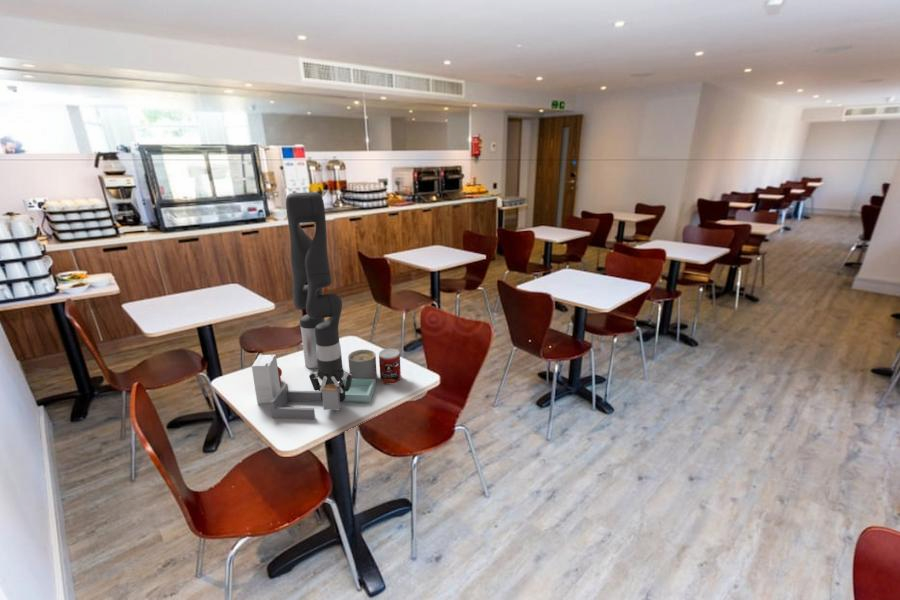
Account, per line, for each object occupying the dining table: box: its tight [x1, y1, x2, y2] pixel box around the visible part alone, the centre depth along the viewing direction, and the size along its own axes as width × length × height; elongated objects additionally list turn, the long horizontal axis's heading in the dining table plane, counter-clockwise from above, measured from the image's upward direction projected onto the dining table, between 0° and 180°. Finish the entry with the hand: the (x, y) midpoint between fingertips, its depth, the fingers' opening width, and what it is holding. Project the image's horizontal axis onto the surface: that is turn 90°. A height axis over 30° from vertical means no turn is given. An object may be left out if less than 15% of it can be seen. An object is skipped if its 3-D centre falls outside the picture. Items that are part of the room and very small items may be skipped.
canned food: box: [378, 348, 402, 385], centre depth 157 cm, size 8×8×11 cm
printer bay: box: [269, 383, 323, 420], centre depth 139 cm, size 11×14×6 cm
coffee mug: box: [347, 349, 378, 381], centre depth 158 cm, size 13×10×10 cm
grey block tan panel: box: [322, 384, 344, 411], centre depth 138 cm, size 6×5×8 cm
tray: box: [342, 377, 377, 404], centre depth 148 cm, size 11×13×3 cm
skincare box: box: [251, 354, 281, 405], centre depth 144 cm, size 8×6×15 cm
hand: (333, 400), depth 138 cm, fingers closed on grey block tan panel, 5 cm apart
